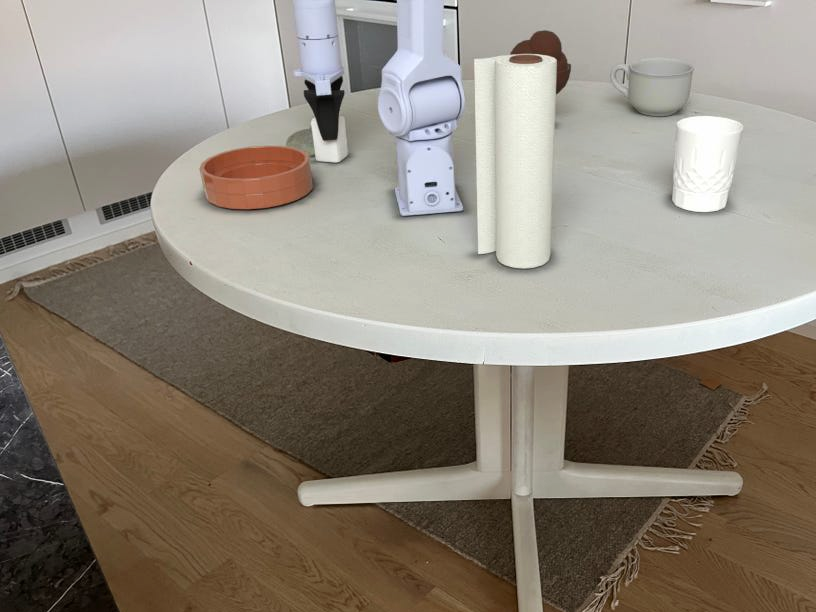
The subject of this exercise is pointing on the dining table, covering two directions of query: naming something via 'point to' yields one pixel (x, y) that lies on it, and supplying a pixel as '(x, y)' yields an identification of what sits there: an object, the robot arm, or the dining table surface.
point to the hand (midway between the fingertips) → (329, 133)
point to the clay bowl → (256, 177)
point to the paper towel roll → (515, 156)
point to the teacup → (656, 84)
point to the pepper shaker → (330, 143)
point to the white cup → (705, 162)
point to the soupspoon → (302, 141)
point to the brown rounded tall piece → (547, 53)
